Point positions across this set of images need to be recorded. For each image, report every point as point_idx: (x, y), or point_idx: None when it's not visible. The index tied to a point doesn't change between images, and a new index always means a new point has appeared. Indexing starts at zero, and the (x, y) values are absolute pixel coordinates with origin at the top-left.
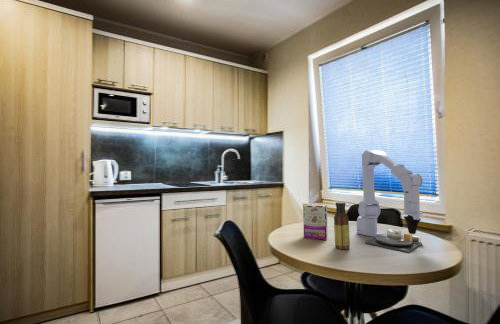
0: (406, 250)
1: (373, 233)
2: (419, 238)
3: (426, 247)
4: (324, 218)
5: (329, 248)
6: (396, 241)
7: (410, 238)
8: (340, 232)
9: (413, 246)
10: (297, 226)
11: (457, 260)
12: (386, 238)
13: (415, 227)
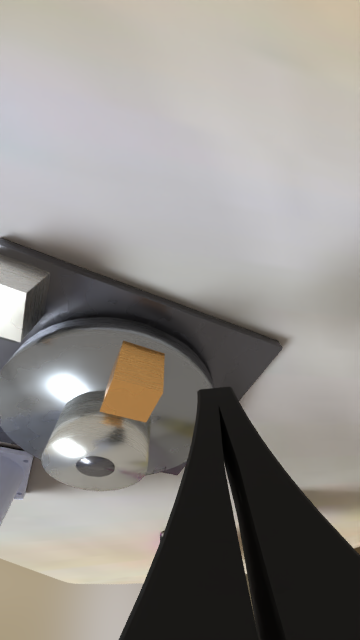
0: (275, 356)
1: (4, 467)
2: (4, 278)
3: (85, 217)
4: None
5: None
6: None
7: (154, 364)
8: None
9: (164, 315)
10: (60, 576)
11: None
12: (156, 446)
13: (260, 458)
